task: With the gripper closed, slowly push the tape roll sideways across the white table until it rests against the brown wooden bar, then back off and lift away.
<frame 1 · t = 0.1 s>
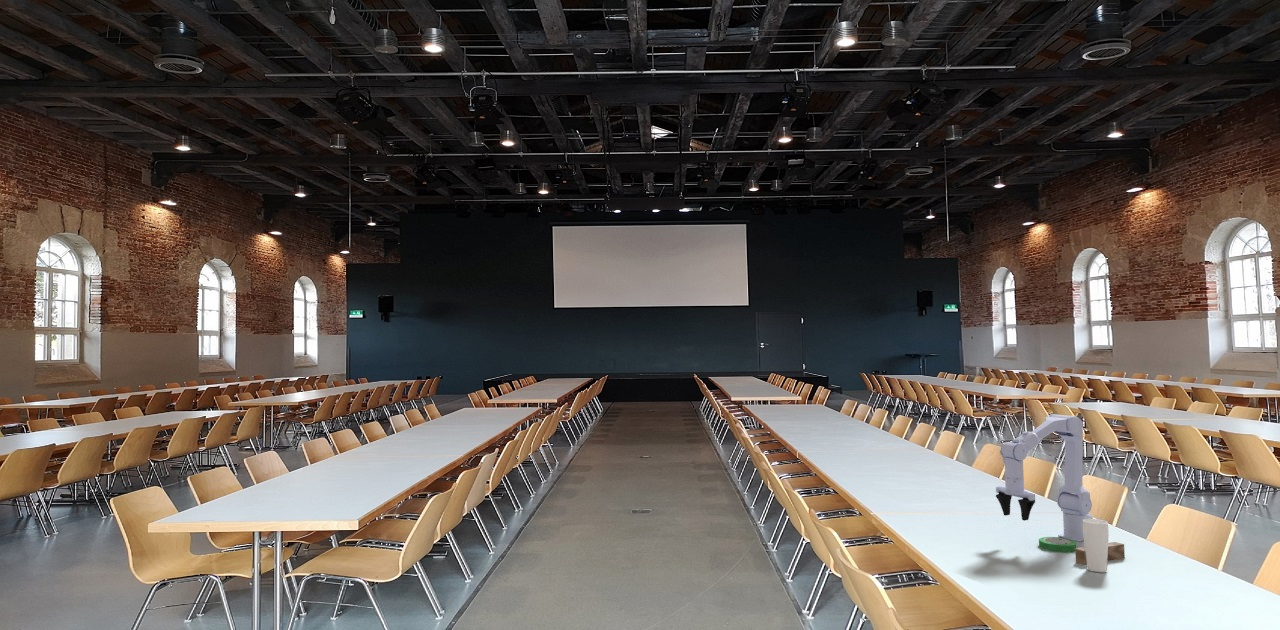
hand: (1015, 517, 249), 10 cm above the table, fingers open, 7 cm apart
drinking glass: (1097, 571, 222), on the table
tape roll: (1057, 549, 246), on the table
brown wooden bar: (1100, 560, 232), on the table
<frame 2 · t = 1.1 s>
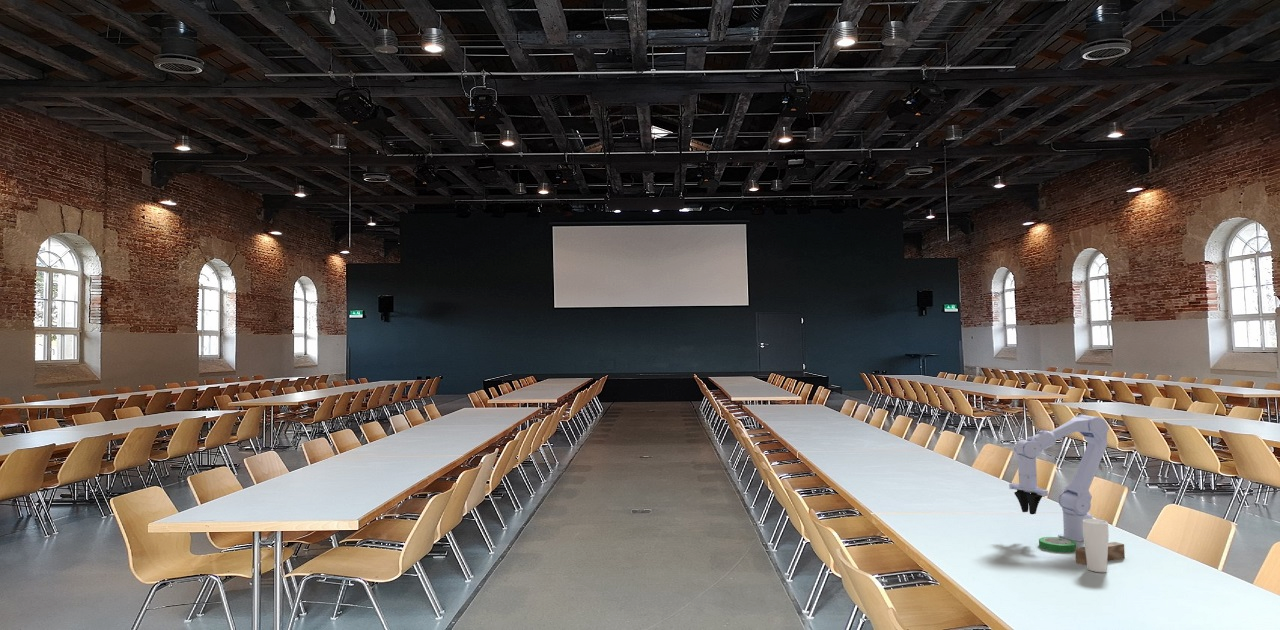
hand: (1029, 512, 257), 9 cm above the table, fingers open, 3 cm apart
nothing on the table moved.
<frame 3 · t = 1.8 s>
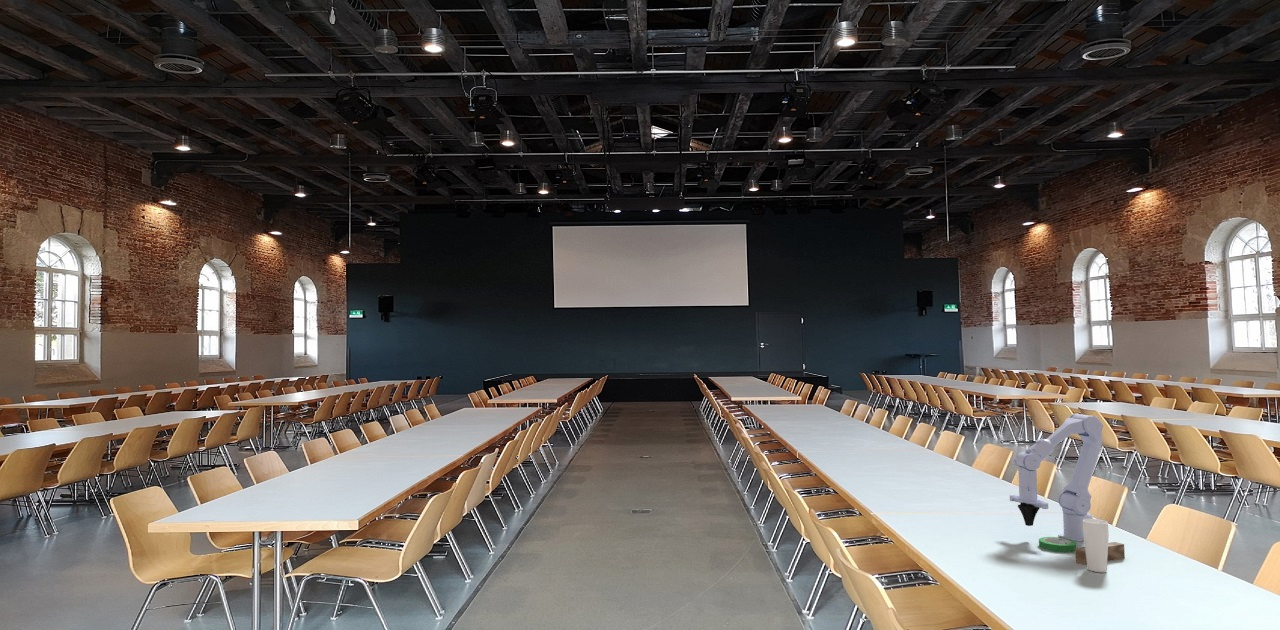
hand: (1029, 525, 257), 5 cm above the table, fingers closed
nothing on the table moved.
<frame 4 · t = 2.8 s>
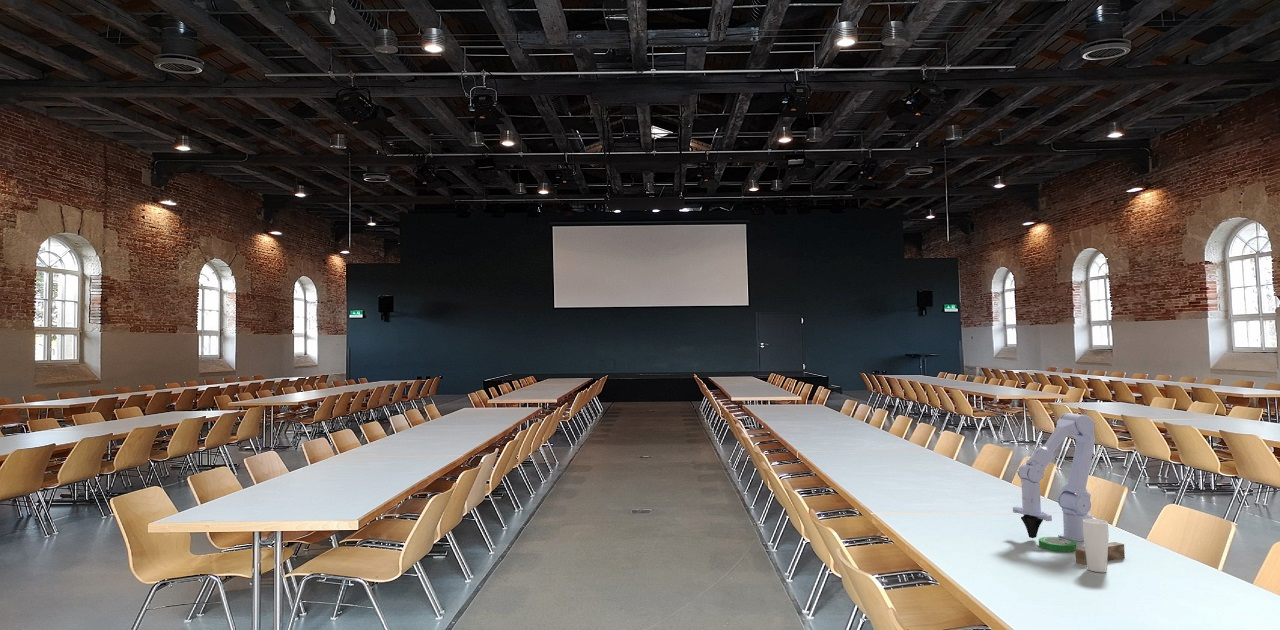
hand: (1032, 537, 256), 1 cm above the table, fingers closed
nothing on the table moved.
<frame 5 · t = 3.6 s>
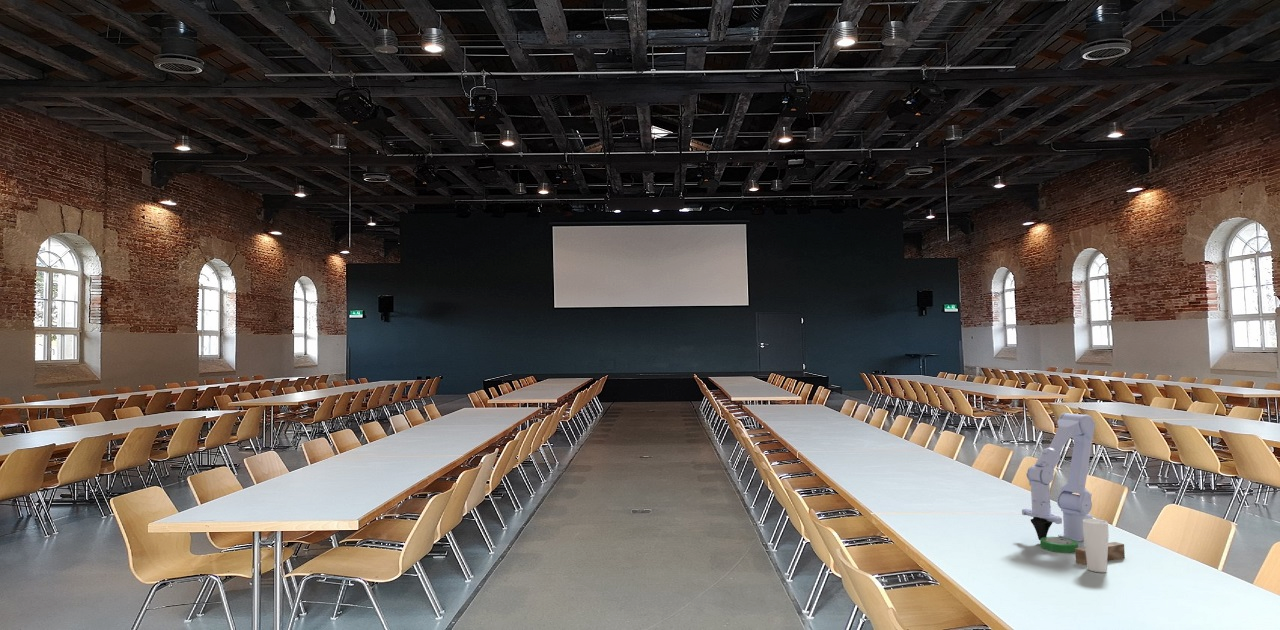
hand: (1042, 540, 252), 1 cm above the table, fingers closed
tape roll: (1059, 549, 246), on the table, touching gripper
everything else where it was.
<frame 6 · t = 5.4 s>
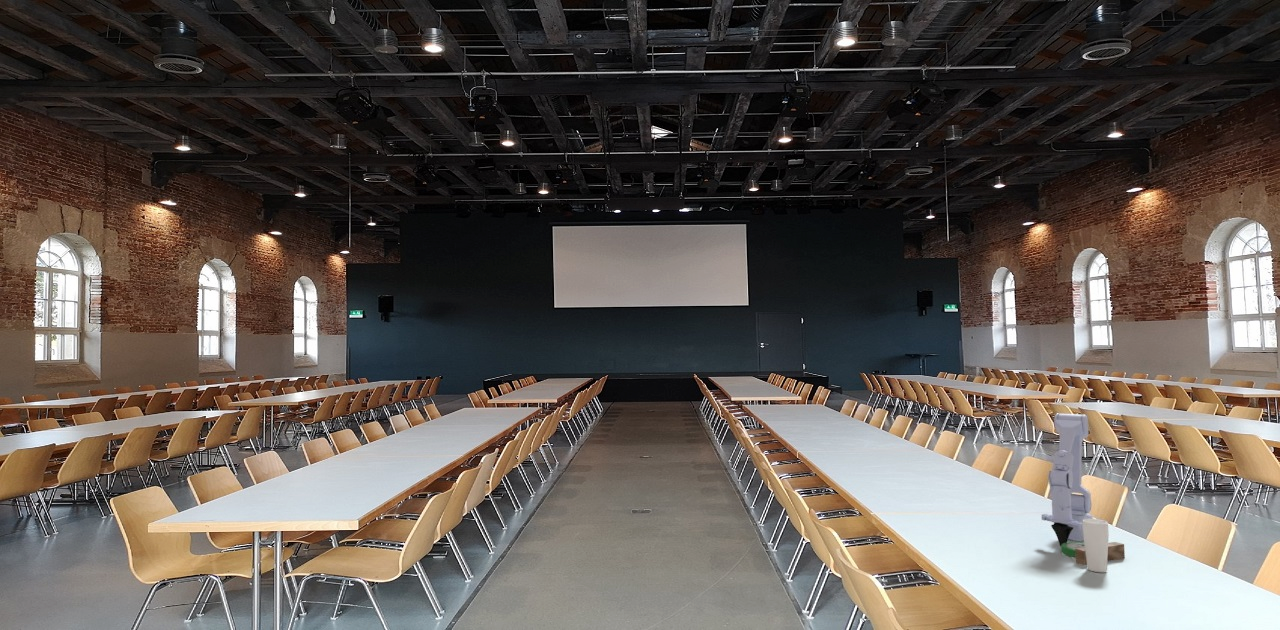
hand: (1063, 546, 244), 1 cm above the table, fingers closed
tape roll: (1080, 555, 239), on the table, touching brown wooden bar, gripper
everything else where it was.
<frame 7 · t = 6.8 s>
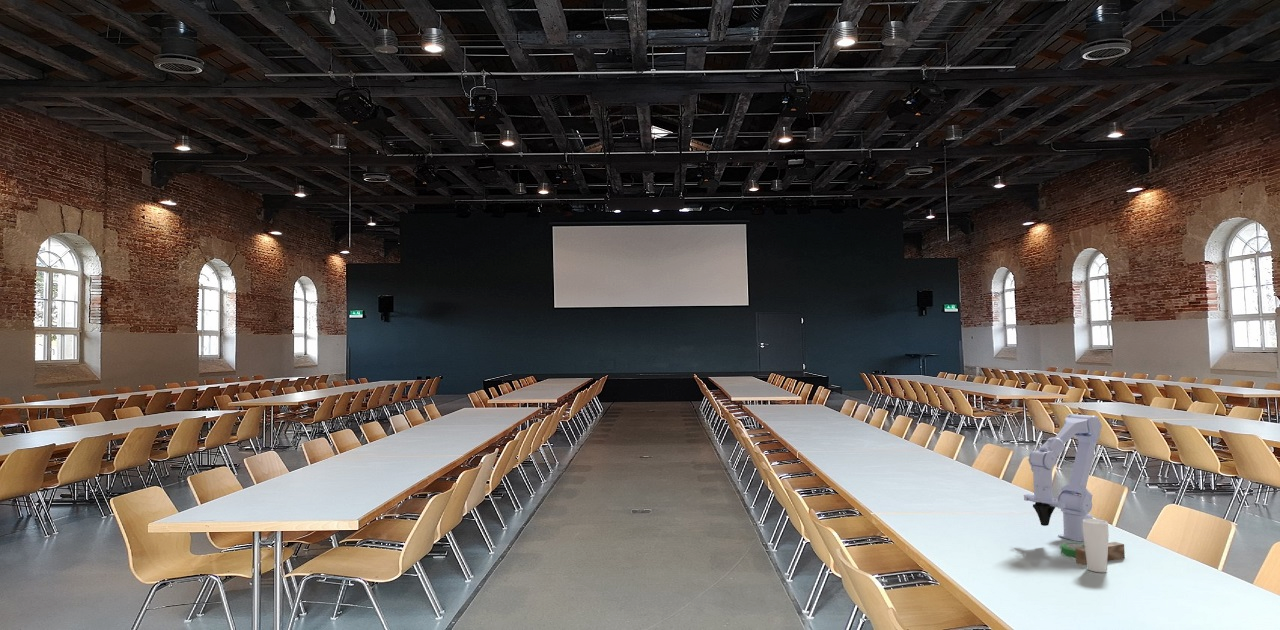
hand: (1044, 525, 251), 6 cm above the table, fingers closed
tape roll: (1080, 555, 239), on the table
everything else where it was.
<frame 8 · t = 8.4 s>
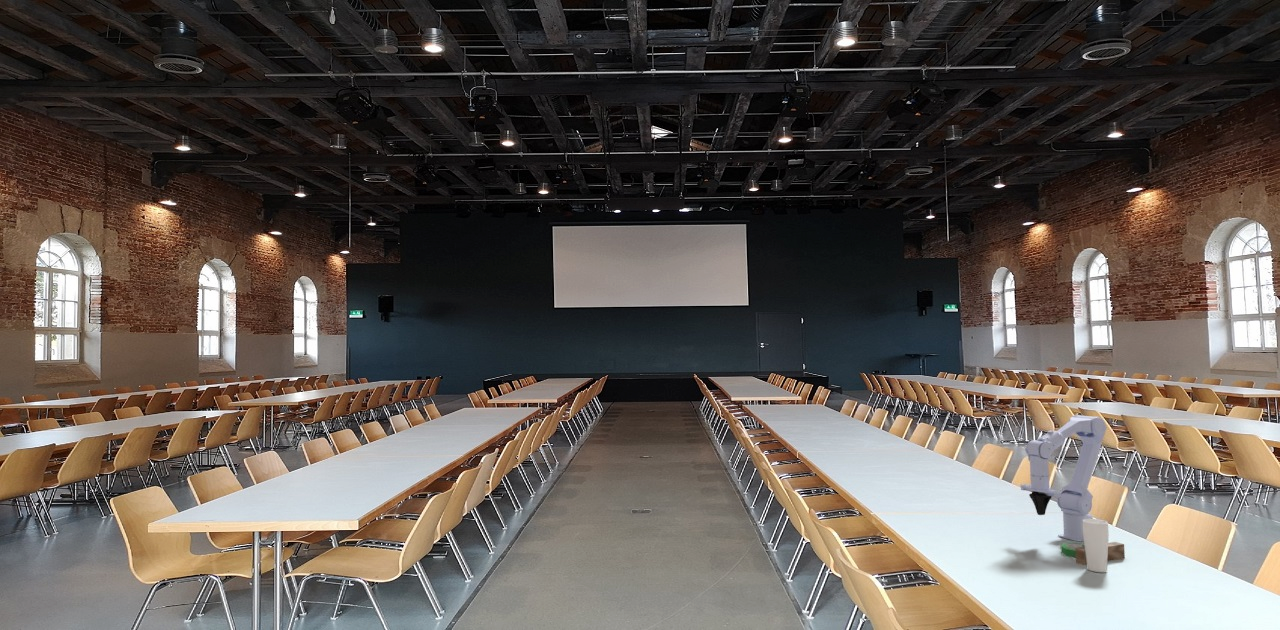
hand: (1041, 514, 252), 10 cm above the table, fingers closed
nothing on the table moved.
at the end: tape roll inside the target area on the table beside the brown wooden bar (0.3 cm from its centre), on the table; tape roll tilted 0°; tape roll moved 8.5 cm from its start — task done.
